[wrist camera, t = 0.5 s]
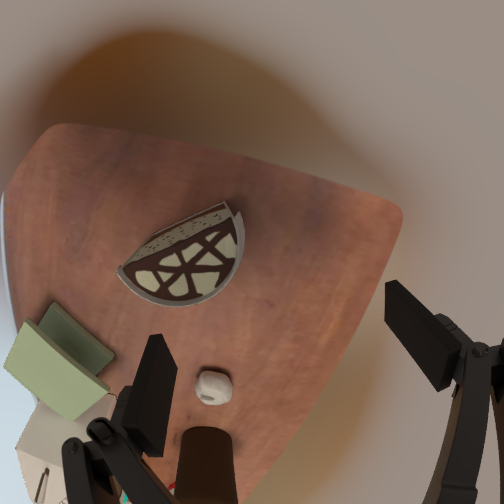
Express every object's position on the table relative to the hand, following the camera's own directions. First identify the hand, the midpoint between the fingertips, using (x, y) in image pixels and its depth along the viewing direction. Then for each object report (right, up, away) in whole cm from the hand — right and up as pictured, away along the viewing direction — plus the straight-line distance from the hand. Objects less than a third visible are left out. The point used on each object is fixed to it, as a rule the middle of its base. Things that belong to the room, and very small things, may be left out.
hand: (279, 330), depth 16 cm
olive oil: (-10, -31, +31) cm, 45 cm away
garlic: (-7, -14, +25) cm, 30 cm away
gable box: (-33, -29, +29) cm, 52 cm away
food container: (-8, +6, +18) cm, 20 cm away
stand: (-30, -11, +22) cm, 39 cm away
